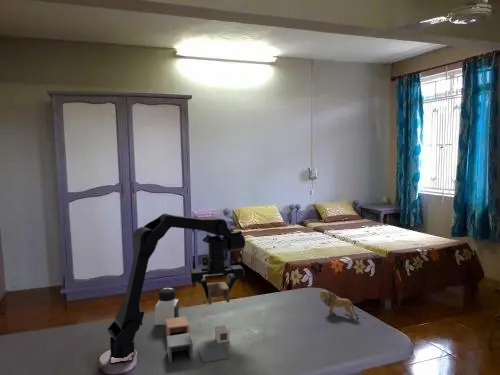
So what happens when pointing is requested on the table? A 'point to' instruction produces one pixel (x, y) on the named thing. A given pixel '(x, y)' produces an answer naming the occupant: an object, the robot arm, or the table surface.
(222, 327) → the cream cube
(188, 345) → the grey box
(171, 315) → the medicine bottle
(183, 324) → the terracotta block
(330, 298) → the lion figurine
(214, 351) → the slate pad
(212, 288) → the box
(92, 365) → the table surface
